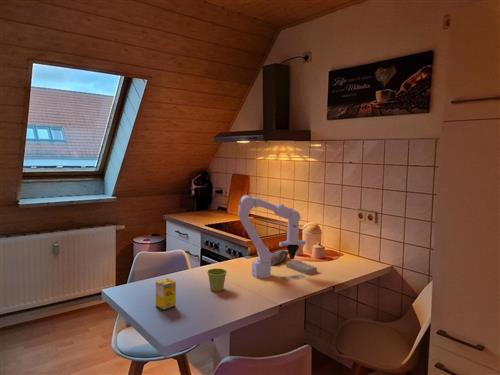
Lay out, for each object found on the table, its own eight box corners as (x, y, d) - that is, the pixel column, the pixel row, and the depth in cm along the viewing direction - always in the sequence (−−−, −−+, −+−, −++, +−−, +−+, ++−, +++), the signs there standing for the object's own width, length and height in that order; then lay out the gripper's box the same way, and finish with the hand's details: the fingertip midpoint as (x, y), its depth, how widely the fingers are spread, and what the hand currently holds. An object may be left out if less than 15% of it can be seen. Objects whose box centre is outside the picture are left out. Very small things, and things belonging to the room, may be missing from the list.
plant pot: (208, 293, 172) (208, 275, 171) (205, 286, 181) (205, 268, 180) (228, 292, 175) (228, 274, 174) (224, 285, 184) (224, 267, 183)
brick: (317, 275, 204) (318, 266, 203) (306, 277, 199) (307, 269, 198) (296, 267, 217) (296, 259, 216) (285, 269, 212) (285, 261, 211)
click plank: (291, 287, 184) (292, 285, 183) (285, 282, 190) (285, 279, 190) (313, 284, 188) (313, 282, 188) (305, 279, 195) (305, 277, 194)
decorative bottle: (274, 268, 212) (274, 256, 212) (262, 265, 216) (263, 254, 216) (294, 257, 234) (294, 247, 233) (283, 255, 238) (283, 245, 237)
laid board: (284, 282, 190) (284, 279, 190) (280, 279, 194) (280, 276, 194) (306, 279, 195) (306, 277, 195) (302, 276, 199) (302, 274, 199)
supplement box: (175, 307, 157) (176, 281, 156) (163, 311, 152) (164, 285, 151) (167, 302, 161) (167, 277, 160) (155, 306, 156) (155, 281, 155)
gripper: (284, 235, 189) (283, 262, 190) (309, 234, 194) (307, 259, 196) (277, 232, 195) (276, 258, 197) (302, 231, 201) (300, 256, 202)
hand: (291, 258), depth 197 cm, fingers closed
